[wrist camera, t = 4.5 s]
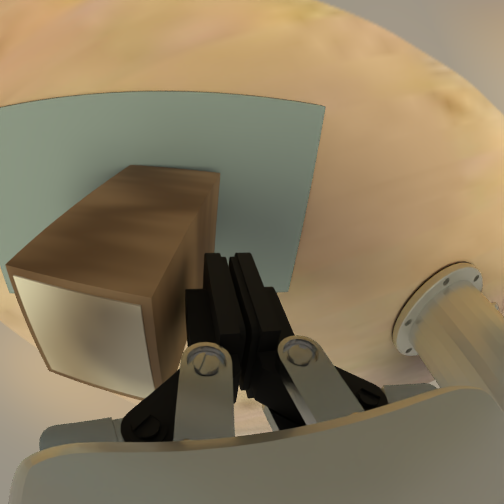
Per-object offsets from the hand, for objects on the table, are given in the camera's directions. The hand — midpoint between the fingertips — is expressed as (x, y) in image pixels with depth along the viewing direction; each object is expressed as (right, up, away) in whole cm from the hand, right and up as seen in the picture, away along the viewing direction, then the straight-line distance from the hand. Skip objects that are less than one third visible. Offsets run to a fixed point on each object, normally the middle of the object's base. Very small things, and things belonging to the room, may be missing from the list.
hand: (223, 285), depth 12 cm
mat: (-6, +4, +6) cm, 9 cm away
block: (-3, +3, +5) cm, 7 cm away
